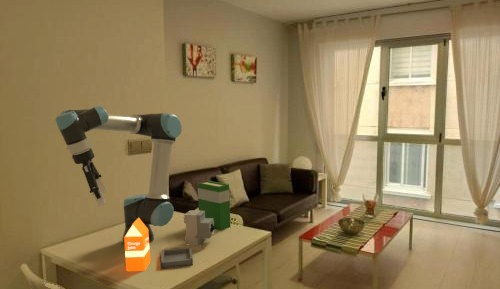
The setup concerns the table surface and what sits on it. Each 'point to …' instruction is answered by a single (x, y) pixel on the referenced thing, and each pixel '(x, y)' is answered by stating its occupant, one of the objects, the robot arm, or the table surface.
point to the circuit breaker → (198, 227)
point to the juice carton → (137, 247)
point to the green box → (215, 203)
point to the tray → (176, 257)
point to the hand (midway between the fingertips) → (102, 198)
